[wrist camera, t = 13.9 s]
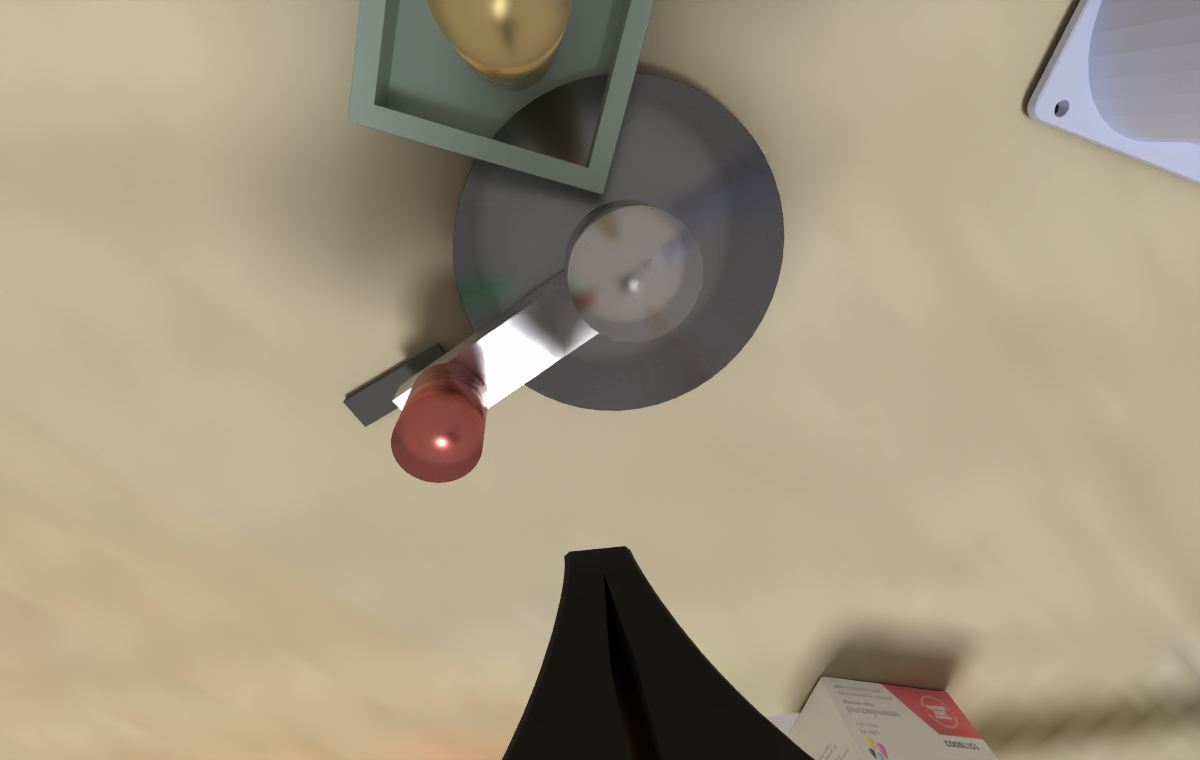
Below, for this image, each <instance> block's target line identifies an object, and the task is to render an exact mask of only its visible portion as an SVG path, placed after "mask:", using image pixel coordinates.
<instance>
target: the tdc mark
mask: <svg viewBox="0 0 1200 760" xmlns="http://www.w3.org/2000/svg"><path fill="white" fill-rule="evenodd" d="M444 354H445V351H444V350H443V349H442V347H441V346H440V345H439V343H438V344H436V345H435V346H433V347H431V348H430V349H428V350H426V351H425V352H423V353H421V354H420V355H418V356H416V357H415V358H413V359H411V360H409V361H408V362H406V363H404V364H403V365H401V366H399V367H398V368H396V369H394V370H393V371H391V372H389V373H388V374H386V375H384V376H383V377H381V378H379V379H378V380H376V381H374V382H372V383H371V384H369V385H367V386H366V387H364V388H362V389H361V390H359V391H357V392H356V393H354V394H352V395H351V396H349V397H347V398H346V399H345V400H344V403H345V404H346V406H347V407H348V408H349V409H350V410H351V411H352V412H353V413H354V415H355V416H356V417H357V418H358V419H359V420H360V421H361V422H362V424H363V425H364V426H365V427H366V426H368V425H369V424H371V423H373V422H375V421H376V420H378V419H380V418H381V417H383V416H385V415H387V414H388V413H390V412H392V411H393V410H395V409H397V408H398V407H397V405H396V404H395V403H394V402H393V401H392V400H393V398H394V396H395V394H396V392H397V390H398V388H399V386H400V385H401V384H403V383H404V382H405V381H407V380H408V379H410V378H411V377H413V376H414V375H415V374H417V373H418V372H420V371H421V370H423V369H424V368H425V367H427V366H428V365H430V364H431V363H433V362H434V361H435V360H437V359H438V358H440V357H441V356H443V355H444Z"/></svg>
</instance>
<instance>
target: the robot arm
mask: <svg viewBox="0 0 1200 760" xmlns="http://www.w3.org/2000/svg"><path fill="white" fill-rule="evenodd" d="M1058 103H1059V109H1058V112H1057V113H1056V114H1055V113H1054V110H1055V106H1056V105H1057V104H1058ZM1027 113H1028V115H1029V117H1030V118H1031V119H1032V120H1034V121H1037V122H1039V123H1042V124H1044V125H1047V126H1050V127H1052V128H1055V129H1057V130H1060V131H1063V132H1065V133H1068V134H1070V135H1073V136H1075V137H1078V138H1081V139H1083V140H1086V141H1088V142H1091V143H1094V144H1096V145H1099V146H1101V147H1104V148H1106V149H1109V150H1112V151H1114V152H1117V153H1119V154H1122V155H1124V156H1127V157H1130V158H1132V159H1135V160H1137V161H1140V162H1143V163H1145V164H1148V165H1150V166H1153V167H1155V168H1158V169H1161V170H1163V171H1166V172H1168V173H1171V174H1174V175H1176V176H1179V177H1181V178H1184V179H1186V180H1189V181H1192V182H1194V183H1197V184H1199V185H1200V0H1080V2H1079V4H1078V6H1077V8H1076V10H1075V12H1074V14H1073V16H1072V17H1071V19H1070V21H1069V23H1068V25H1067V27H1066V29H1065V31H1064V33H1063V35H1062V37H1061V39H1060V41H1059V43H1058V45H1057V47H1056V49H1055V51H1054V53H1053V55H1052V57H1051V59H1050V61H1049V63H1048V65H1047V67H1046V69H1045V71H1044V73H1043V75H1042V77H1041V79H1040V81H1039V83H1038V85H1037V87H1036V88H1035V90H1034V92H1033V94H1032V96H1031V98H1030V101H1029V103H1028V109H1027ZM564 558H565V571H564V582H563V588H562V594H561V599H560V604H559V608H558V612H557V616H556V620H555V624H554V628H553V632H552V635H551V639H550V642H549V645H548V648H547V651H546V654H545V657H544V660H543V664H542V667H541V670H540V672H539V675H538V678H537V681H536V683H535V686H534V689H533V691H532V694H531V696H530V699H529V701H528V704H527V706H526V708H525V711H524V713H523V716H522V718H521V720H520V722H519V725H518V727H517V729H516V731H515V733H514V735H513V738H512V740H511V742H510V744H509V746H508V749H507V751H506V753H505V755H504V757H503V759H502V760H815V759H814V758H812V757H811V756H810V755H808V754H807V753H806V752H805V751H803V750H802V749H801V748H800V747H799V746H798V745H796V744H795V743H794V742H793V741H792V740H791V739H790V738H788V737H787V736H786V735H785V734H784V733H782V732H781V731H780V730H779V729H778V728H777V727H776V726H775V725H773V724H772V723H771V722H770V721H769V720H768V719H766V718H765V717H764V716H763V715H762V714H761V713H760V712H759V711H758V710H756V709H755V708H754V707H753V706H752V705H751V704H750V703H749V702H748V701H747V700H746V699H745V698H744V697H743V696H742V695H741V694H740V693H739V692H738V691H737V690H736V689H735V688H734V687H733V686H732V685H731V684H730V683H729V682H728V681H727V680H726V679H725V678H724V677H723V676H722V675H721V674H720V672H719V671H718V670H717V669H716V668H715V667H714V666H713V665H712V664H711V663H710V661H709V660H708V659H707V658H706V657H705V656H704V655H703V654H702V652H701V651H700V650H699V649H698V648H697V646H696V645H695V644H694V643H693V642H692V640H691V639H690V638H689V637H688V636H687V634H686V633H685V632H684V630H683V629H682V628H681V627H680V625H679V624H678V623H677V621H676V620H675V619H674V617H673V616H672V615H671V613H670V612H669V611H668V609H667V608H666V607H665V605H664V604H663V603H662V601H661V600H660V598H659V597H658V595H657V594H656V593H655V591H654V590H653V588H652V586H651V585H650V583H649V582H648V580H647V579H646V577H645V576H644V574H643V572H642V571H641V569H640V567H639V566H638V564H637V562H636V560H635V559H634V557H633V555H632V553H631V551H630V550H629V549H628V548H627V547H626V546H622V547H612V548H602V549H592V550H582V551H572V552H569V553H568V554H567V555H566V556H564Z"/></svg>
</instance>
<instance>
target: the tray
mask: <svg viewBox="0 0 1200 760" xmlns="http://www.w3.org/2000/svg"><path fill="white" fill-rule="evenodd" d="M654 1H655V0H573V3H572V8H571V13H570V16H569V19H568V22H567V25H566V28H565V30H564V33H563V36H562V39H561V41H560V44H559V47H558V49H557V52H556V55H555V58H554V60H553V62H552V65H551V67H550V68H549V70H548V72H547V73H546V74H545V75H544V77H543V78H542V79H541V80H539V81H538V82H537V83H535V84H534V85H532V86H530V87H528V88H525V89H522V90H517V91H508V90H502V89H498V88H495V87H493V86H491V85H489V84H487V83H486V82H484V81H483V80H482V79H481V78H479V77H478V76H477V75H476V74H475V73H474V71H473V70H472V69H471V68H470V66H469V65H468V64H467V63H466V61H465V60H464V59H463V58H462V56H461V55H460V54H459V53H458V51H457V50H456V49H455V48H454V47H453V45H452V44H451V43H450V42H449V40H448V39H447V38H446V37H445V35H444V34H443V33H442V31H441V30H440V28H439V26H438V25H437V23H436V21H435V19H434V17H433V15H432V13H431V11H430V8H429V5H428V2H427V0H360V8H359V18H358V27H357V37H356V47H355V57H354V67H353V76H352V86H351V96H350V106H349V116H348V122H351V123H355V124H358V125H362V126H365V127H369V128H372V129H376V130H379V131H383V132H386V133H390V134H393V135H397V136H400V137H404V138H407V139H411V140H414V141H418V142H421V143H425V144H428V145H432V146H435V147H439V148H442V149H446V150H449V151H453V152H456V153H460V154H463V155H467V156H470V157H474V158H477V159H480V160H484V161H487V162H491V163H494V164H498V165H501V166H505V167H508V168H512V169H515V170H519V171H522V172H526V173H529V174H533V175H536V176H540V177H543V178H547V179H550V180H554V181H557V182H561V183H564V184H568V185H571V186H575V187H578V188H582V189H585V190H589V191H592V192H596V193H599V194H603V192H604V188H605V184H606V180H607V177H608V173H609V169H610V166H611V162H612V158H613V154H614V151H615V147H616V143H617V139H618V136H619V132H620V128H621V124H622V121H623V117H624V113H625V109H626V106H627V102H628V98H629V95H630V91H631V87H632V83H633V80H634V76H635V72H636V68H637V65H638V61H639V57H640V53H641V50H642V46H643V42H644V38H645V35H646V31H647V27H648V23H649V20H650V16H651V12H652V9H653V5H654ZM607 73H609V76H608V79H607V83H606V87H605V91H604V95H603V99H602V103H601V107H600V111H599V115H598V119H597V123H596V127H595V131H594V135H593V139H592V143H591V147H590V151H589V155H588V159H587V163H586V167H585V166H582V165H579V164H575V163H572V162H568V161H565V160H562V159H558V158H555V157H552V156H548V155H545V154H541V153H538V152H535V151H531V150H528V149H525V148H521V147H518V146H514V145H511V144H508V143H504V142H501V141H498V140H494V139H492V138H493V136H494V135H495V134H496V132H497V131H498V130H499V129H500V128H501V127H502V126H503V125H504V124H505V123H506V122H507V121H508V120H509V119H510V118H511V117H512V116H513V115H514V114H515V113H517V112H518V111H519V110H521V109H522V108H523V107H525V106H526V105H528V104H529V103H530V102H532V101H533V100H534V99H536V98H538V97H539V96H541V95H543V94H545V93H547V92H549V91H551V90H553V89H554V88H556V87H559V86H561V85H564V84H567V83H570V82H572V81H575V80H578V79H581V78H586V77H591V76H596V75H601V74H607Z"/></svg>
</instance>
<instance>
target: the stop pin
mask: <svg viewBox="0 0 1200 760" xmlns="http://www.w3.org/2000/svg"><path fill="white" fill-rule="evenodd" d="M427 2H428V5H429V8H430V11H431V13H432V15H433V17H434V19H435V21H436V23H437V25H438V26H439V28H440V30H441V31H442V33H443V34H444V35H445V37H446V38H447V39H448V40H449V42H450V43H451V44H452V45H453V47H454V48H455V49H456V50H457V51H458V53H459V54H460V55H461V56H462V58H463V59H464V60H465V61H466V63H467V64H468V65H469V66H470V68H471V69H472V70H473V71H474V73H475V74H476V75H477V76H478V77H479V78H481V79H482V80H483V81H484V82H486V83H487V84H489V85H491V86H493V87H495V88H498V89H502V90H508V91H517V90H522V89H525V88H528V87H530V86H532V85H534V84H535V83H537V82H538V81H539V80H541V79H542V78H543V77H544V75H545V74H546V73H547V72H548V70H549V68H550V67H551V65H552V62H553V60H554V58H555V55H556V52H557V49H558V47H559V44H560V41H561V39H562V36H563V33H564V30H565V28H566V25H567V22H568V19H569V16H570V13H571V8H572V3H573V0H427Z"/></svg>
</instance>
